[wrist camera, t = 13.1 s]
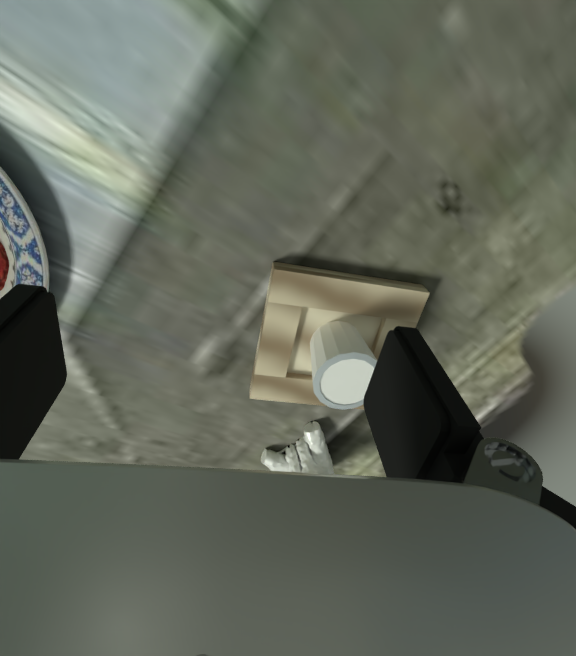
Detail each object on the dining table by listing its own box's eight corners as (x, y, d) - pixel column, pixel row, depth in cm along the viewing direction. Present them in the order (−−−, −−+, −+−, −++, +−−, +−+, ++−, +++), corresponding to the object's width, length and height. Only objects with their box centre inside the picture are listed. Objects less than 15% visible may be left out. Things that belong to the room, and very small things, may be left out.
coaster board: (273, 261, 38) (274, 269, 37) (422, 284, 41) (429, 292, 39) (249, 387, 46) (249, 398, 45) (376, 400, 49) (381, 411, 47)
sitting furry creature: (314, 415, 50) (331, 499, 39) (351, 450, 53) (375, 535, 43) (257, 451, 52) (259, 539, 42) (297, 482, 56) (307, 569, 46)
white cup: (378, 343, 43) (398, 383, 37) (329, 378, 45) (341, 421, 39) (341, 303, 40) (357, 339, 34) (291, 342, 42) (297, 382, 36)
